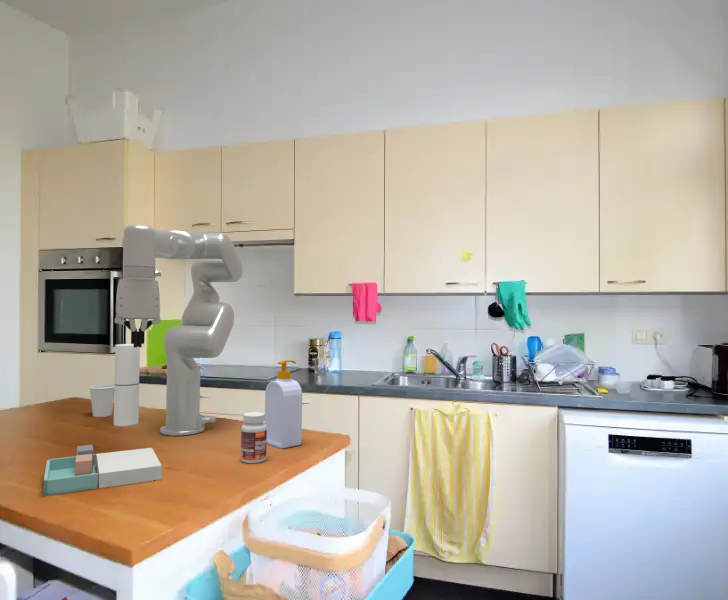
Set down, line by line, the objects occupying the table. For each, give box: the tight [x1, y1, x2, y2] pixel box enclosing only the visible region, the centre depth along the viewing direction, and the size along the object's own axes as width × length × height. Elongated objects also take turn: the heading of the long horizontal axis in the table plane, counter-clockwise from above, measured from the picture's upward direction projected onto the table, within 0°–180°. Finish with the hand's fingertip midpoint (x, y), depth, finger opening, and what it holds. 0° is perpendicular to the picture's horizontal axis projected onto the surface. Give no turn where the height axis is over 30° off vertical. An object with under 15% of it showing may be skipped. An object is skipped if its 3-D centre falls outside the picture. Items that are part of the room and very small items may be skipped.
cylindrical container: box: [113, 343, 141, 427], centre depth 163 cm, size 7×7×25 cm
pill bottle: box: [240, 411, 267, 464], centre depth 126 cm, size 6×6×11 cm
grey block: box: [76, 444, 94, 473], centre depth 115 cm, size 5×5×3 cm
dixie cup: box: [88, 383, 115, 418], centre depth 175 cm, size 8×8×10 cm
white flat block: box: [95, 447, 163, 489], centre depth 115 cm, size 12×16×3 cm
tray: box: [42, 453, 98, 497], centre depth 110 cm, size 9×16×3 cm, turn 30°
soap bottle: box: [264, 359, 303, 450], centre depth 142 cm, size 9×7×23 cm
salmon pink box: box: [75, 454, 92, 476], centre depth 107 cm, size 5×5×3 cm
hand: (137, 346), depth 130 cm, fingers closed
